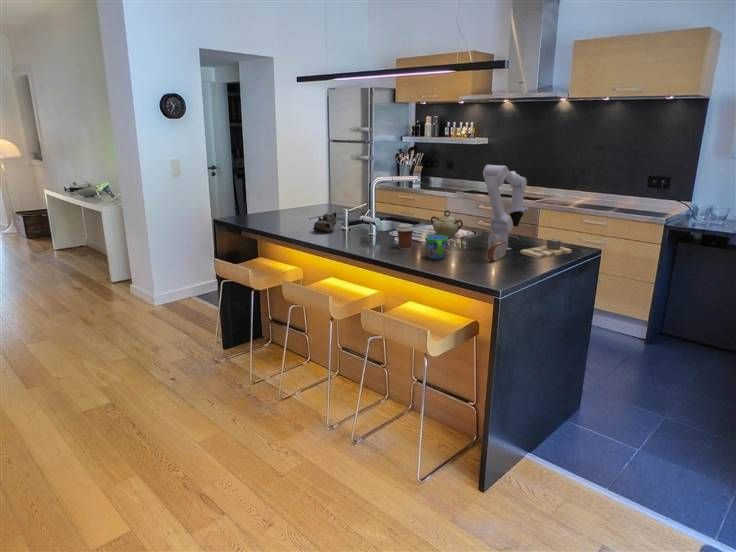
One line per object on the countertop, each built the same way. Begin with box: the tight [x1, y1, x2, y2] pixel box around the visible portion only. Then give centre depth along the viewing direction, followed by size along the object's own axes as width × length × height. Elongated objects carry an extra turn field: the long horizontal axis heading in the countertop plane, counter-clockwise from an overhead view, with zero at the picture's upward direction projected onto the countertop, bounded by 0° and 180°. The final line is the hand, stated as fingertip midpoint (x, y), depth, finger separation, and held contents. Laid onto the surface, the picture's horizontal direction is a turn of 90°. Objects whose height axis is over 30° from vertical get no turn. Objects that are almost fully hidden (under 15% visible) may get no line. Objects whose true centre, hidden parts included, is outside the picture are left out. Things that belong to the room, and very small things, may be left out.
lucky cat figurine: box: [312, 211, 338, 234], centre depth 303 cm, size 15×12×14 cm
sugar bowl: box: [430, 210, 464, 239], centre depth 284 cm, size 20×15×15 cm
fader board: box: [519, 245, 573, 260], centre depth 249 cm, size 22×12×2 cm, turn 117°
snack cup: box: [425, 234, 449, 260], centre depth 243 cm, size 16×10×10 cm
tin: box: [487, 241, 507, 262], centre depth 239 cm, size 15×3×8 cm, turn 141°
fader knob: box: [546, 238, 562, 250], centre depth 250 cm, size 4×5×4 cm
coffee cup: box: [395, 223, 415, 250], centre depth 262 cm, size 9×9×12 cm
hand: (515, 226), depth 265 cm, fingers closed
